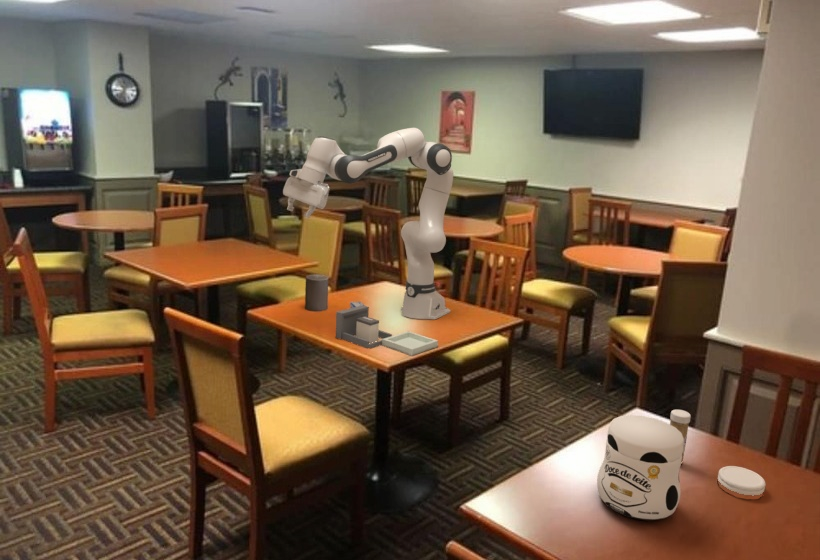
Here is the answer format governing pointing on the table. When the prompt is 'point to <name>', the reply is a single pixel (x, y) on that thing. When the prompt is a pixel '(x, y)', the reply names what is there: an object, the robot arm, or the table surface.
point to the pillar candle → (316, 292)
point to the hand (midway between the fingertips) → (297, 213)
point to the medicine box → (355, 304)
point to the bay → (354, 326)
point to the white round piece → (741, 480)
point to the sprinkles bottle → (680, 424)
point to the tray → (410, 343)
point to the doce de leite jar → (641, 468)
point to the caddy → (367, 328)
